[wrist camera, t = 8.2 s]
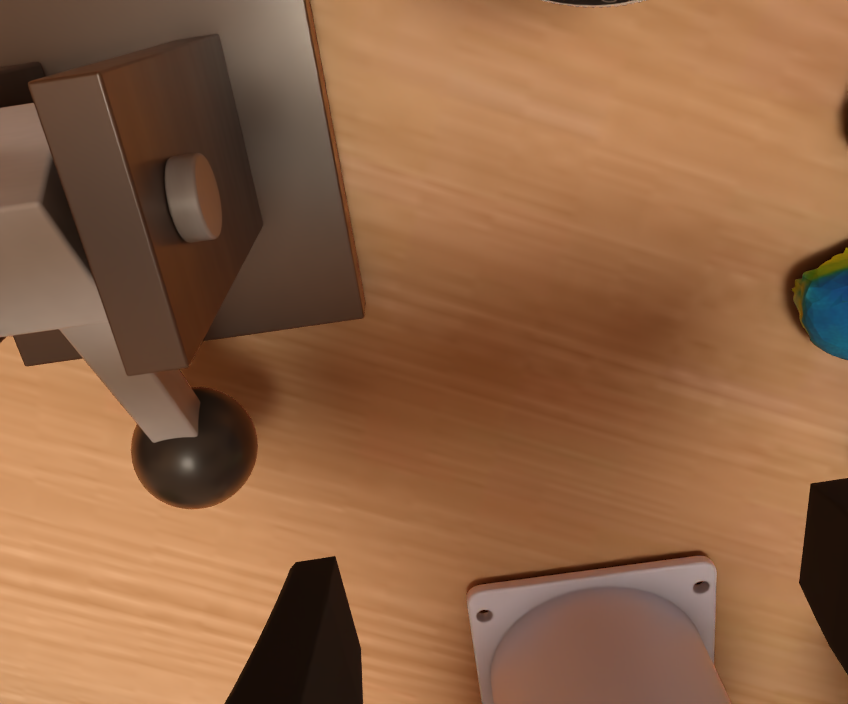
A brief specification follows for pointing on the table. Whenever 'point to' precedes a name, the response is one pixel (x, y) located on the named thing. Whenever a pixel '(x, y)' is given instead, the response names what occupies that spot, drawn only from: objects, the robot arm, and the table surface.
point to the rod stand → (188, 167)
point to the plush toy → (825, 305)
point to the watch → (593, 2)
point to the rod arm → (107, 332)
